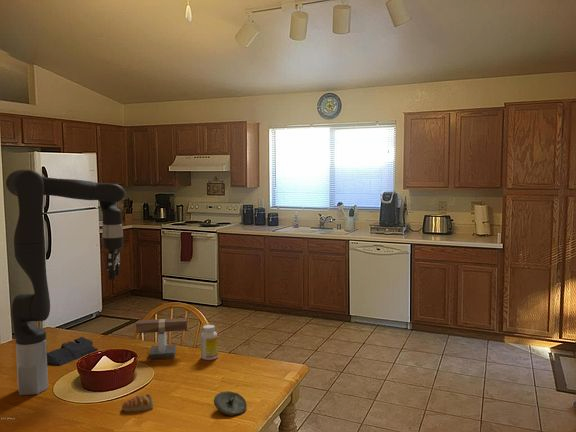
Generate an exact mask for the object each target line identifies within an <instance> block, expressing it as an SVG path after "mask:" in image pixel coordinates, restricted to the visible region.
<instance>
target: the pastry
mask: <svg viewBox="0 0 576 432" xmlns="http://www.w3.org/2000/svg"><path fill="white" fill-rule="evenodd" d="M152 397H153V396H152V394H151V393H149V392H148V393H147V394H140V395H139V394H138V395H136V396H135V397H132V398H129V399H128V400H127V401H125V402H123V404H122V405H121V410H122V411H123V412H126V413H130V412H131V413H134V412H135V413H137V412H142V411H148V410H151V409H153V407H154V401H153V398H152Z"/></svg>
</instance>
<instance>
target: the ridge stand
mask: <svg viewBox="0 0 576 432" xmlns="http://www.w3.org/2000/svg"><path fill="white" fill-rule="evenodd" d="M157 333H158V334H157V338H158V339H157V341H158V342H157V343H158V345H151V347H150V349H149V353H148V360H157V359H174V358H176V351H177V344H168V342H167V341H168V339H167V332H157Z"/></svg>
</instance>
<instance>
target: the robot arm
mask: <svg viewBox="0 0 576 432" xmlns="http://www.w3.org/2000/svg"><path fill="white" fill-rule="evenodd" d="M5 187H6V188H7V190H8V191H9V193H11V194H12V195H13V196H16V197H17V200H18V202H17V203H18V211H19V212H18V217H17V218H18V219H17V222H16V227H15V229H14V233H13V249H14V253H13V254H14V258H15V261H16V263H17V264H18V265H19V266H20V268H21V269H22V270H23V272H24V273H25V274H26V275H27V277H28V279H29V280H30V282H31V284H32V288H33V293H21V294H18V295H15V297H13V300H12V304H11V317H12V325H13V327H12V328H13V333H14V335H13V336H14V338H15V351H16V354H15V355H16V373H17V374H16V375H17V390H18V396H28V395H39V394H40V393H41V392H44V391H46V390H47V389H48V388H49V375H48V372H49V369H48V362H47V353H48V350H47V348H48V347H47V332H46V330H45V329H43V328H41V327H38V326H36V325H34V324H33V323H32V322H43V321H46V320H47V319H48V318H49V316H50V313H51V297H50V293H49V292H50V291H49V285H48V278H47V267H46V266H47V265H46V263H47V262H46V261H47V259H46V237H45V227H44V226H45V224H44V196H51V197H52V196H53V197H61V198H66V199H74V200H82V201H98V203H99V207H100V210H101V214H102V227H101V228H102V229H101V230H102V231H101V232H102V234H101V235H102V238H101V239H102V248H103V249H104V250H108V252H107V253H106V254H105V256H106V270H107V271H108V280H109V281H115V280H116V277H117V276H119V275H120V264H121V249H123V248H124V231H123V230H124V228H123V217H122V216H123V215H122V210H121V209H120V208H118V205H117V203H119V202H121V201H122V200H123V199H124V198H125V195H126V193H125V192H126V191H125V189H124V188H123V186H121V185H119V184H117V183H107V182H103V183H102V182H95V181H92V180H91V181H89V180H81V179H75V178H74V179H71V178H54V177H53V178H52V177H48V176H42V175H41V174H40V173H39V172H37V171H36V170H33V169H32V170H31V169H18V170H15V171H13V172H11V173H9V174H8V175H7V177H6V179H5Z"/></svg>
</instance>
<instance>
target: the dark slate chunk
mask: <svg viewBox="0 0 576 432" xmlns="http://www.w3.org/2000/svg"><path fill="white" fill-rule="evenodd" d="M93 345H94V343H93V341H92V340H90V339H88V338H85V337H83V336H80V337H78V338H75V339H74V340H73V341H68V342H64V343H61V345H60V348H57V349H53V350H51V351H47V364H49V365H53V366H63V365H66V364H68V363H71V362H73V361H76V360H78V359H81V358H84V357H85V355H86V356H87V354H88V355H90V354H93V353H95V352H97V351H98V350H99V349H98V348H97V347H95V346H93ZM83 356H84V357H83Z"/></svg>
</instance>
